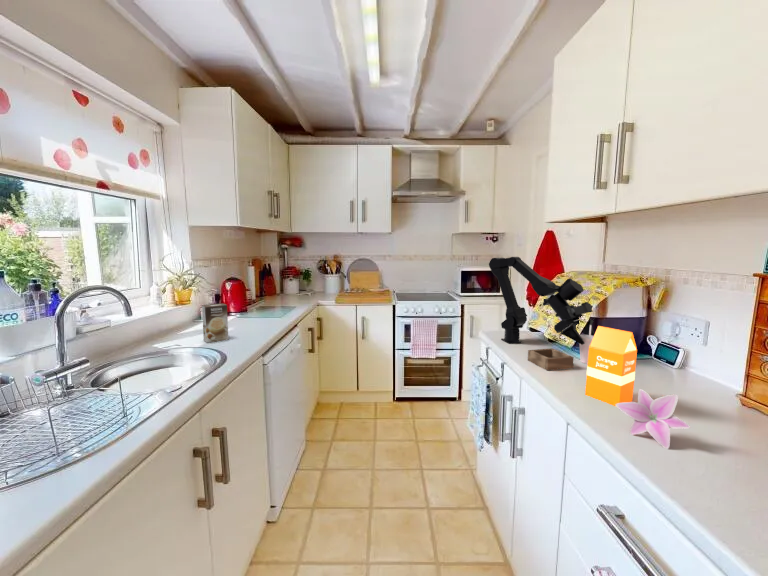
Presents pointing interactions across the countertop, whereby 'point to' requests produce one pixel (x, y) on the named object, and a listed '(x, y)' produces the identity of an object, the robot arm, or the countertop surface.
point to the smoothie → (585, 346)
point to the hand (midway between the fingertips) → (589, 342)
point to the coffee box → (215, 322)
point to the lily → (653, 416)
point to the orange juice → (611, 366)
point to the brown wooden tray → (550, 359)
